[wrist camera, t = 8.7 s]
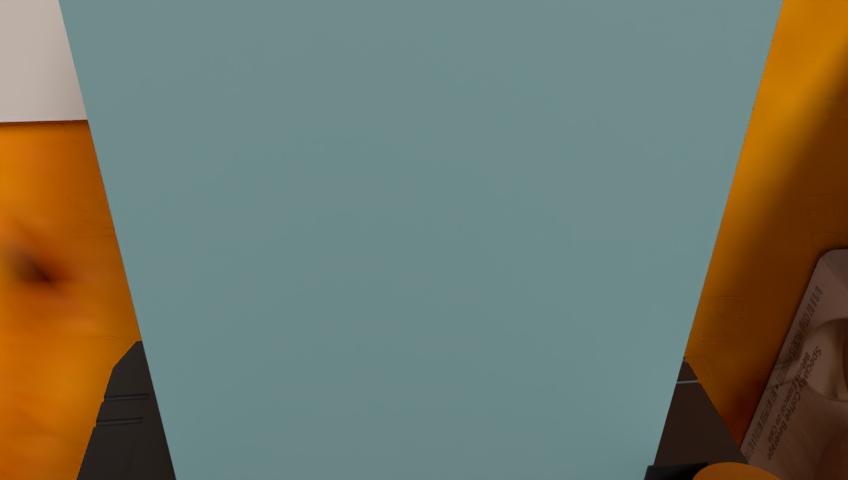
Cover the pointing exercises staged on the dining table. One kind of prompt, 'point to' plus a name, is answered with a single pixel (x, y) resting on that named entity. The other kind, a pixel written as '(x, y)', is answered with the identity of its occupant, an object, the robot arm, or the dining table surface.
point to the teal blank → (417, 223)
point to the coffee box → (808, 386)
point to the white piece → (36, 64)
